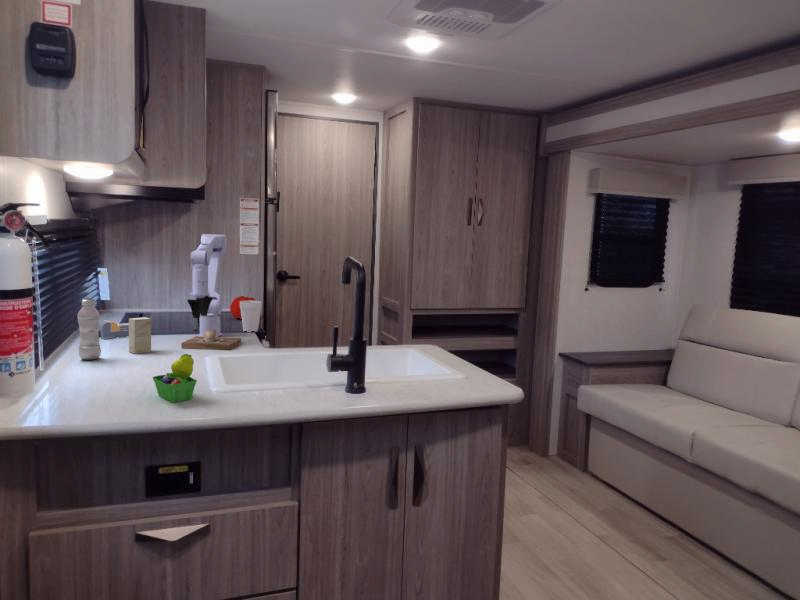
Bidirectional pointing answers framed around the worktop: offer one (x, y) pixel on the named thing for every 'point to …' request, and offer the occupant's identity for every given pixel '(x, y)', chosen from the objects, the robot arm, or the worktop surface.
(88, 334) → the plastic bottle
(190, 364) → the fruit basket
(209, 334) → the peg
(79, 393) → the worktop surface
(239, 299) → the tomato
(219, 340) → the socket board
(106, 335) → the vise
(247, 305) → the foam cup
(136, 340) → the skincare box
